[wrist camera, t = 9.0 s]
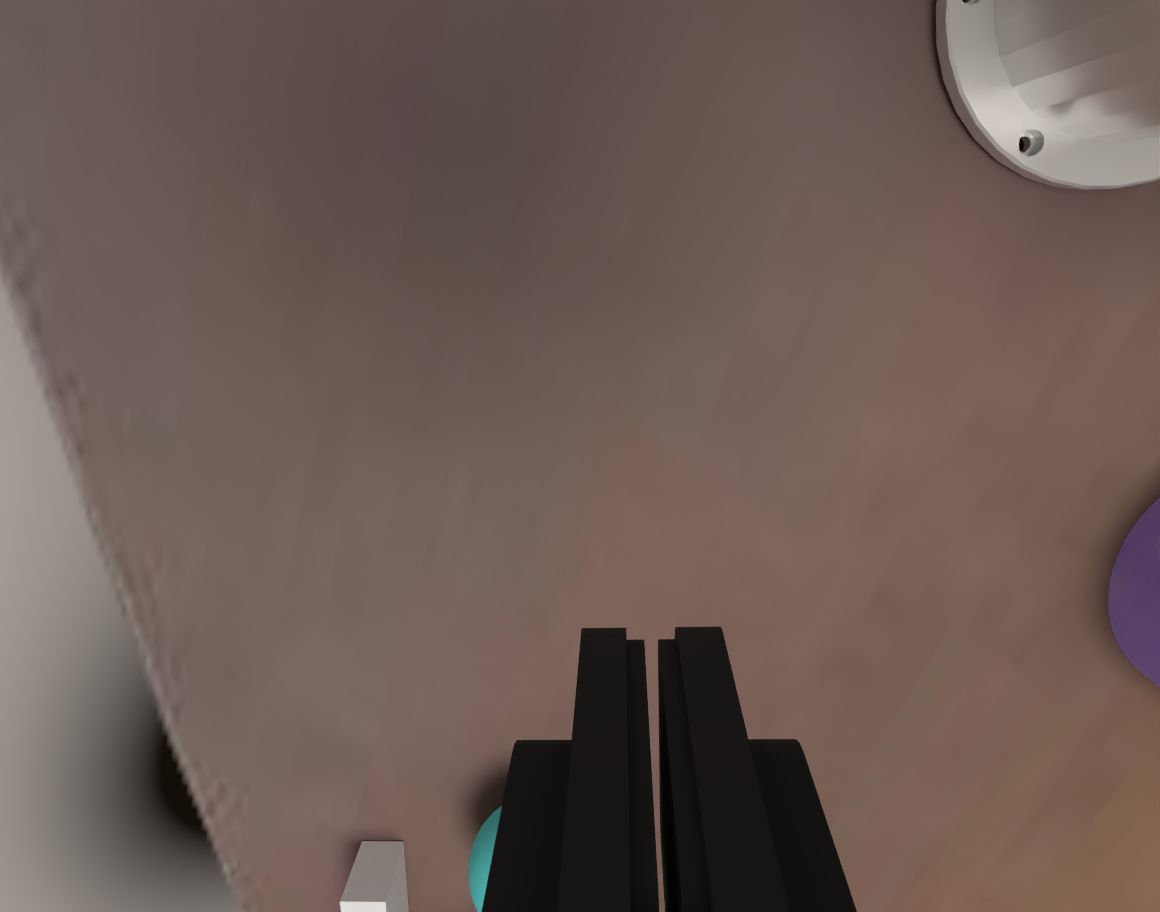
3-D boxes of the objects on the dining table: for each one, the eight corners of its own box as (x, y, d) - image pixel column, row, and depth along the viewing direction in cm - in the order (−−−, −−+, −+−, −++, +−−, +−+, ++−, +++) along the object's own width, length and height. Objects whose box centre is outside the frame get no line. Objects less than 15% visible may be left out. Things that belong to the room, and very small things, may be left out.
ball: (584, 992, 33) (623, 854, 37) (576, 933, 29) (620, 787, 34) (456, 945, 35) (508, 818, 39) (433, 884, 31) (493, 752, 35)
